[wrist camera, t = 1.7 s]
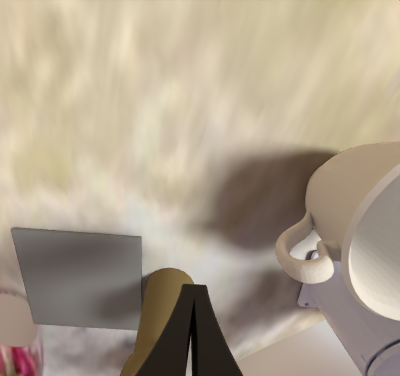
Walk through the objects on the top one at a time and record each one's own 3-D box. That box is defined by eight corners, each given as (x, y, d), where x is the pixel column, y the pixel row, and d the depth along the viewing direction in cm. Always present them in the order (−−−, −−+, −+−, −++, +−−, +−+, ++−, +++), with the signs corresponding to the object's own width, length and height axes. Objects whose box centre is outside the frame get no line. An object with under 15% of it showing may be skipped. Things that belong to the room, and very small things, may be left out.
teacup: (234, 159, 19) (270, 193, 9) (393, 105, 17) (629, 79, 8) (263, 257, 22) (310, 354, 13) (397, 219, 21) (565, 297, 11)
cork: (147, 306, 25) (108, 439, 14) (144, 267, 23) (96, 387, 12) (194, 307, 25) (190, 440, 14) (194, 268, 23) (190, 388, 12)
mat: (141, 236, 21) (140, 238, 21) (142, 327, 26) (141, 330, 25) (14, 227, 21) (10, 229, 21) (36, 320, 25) (33, 324, 25)
